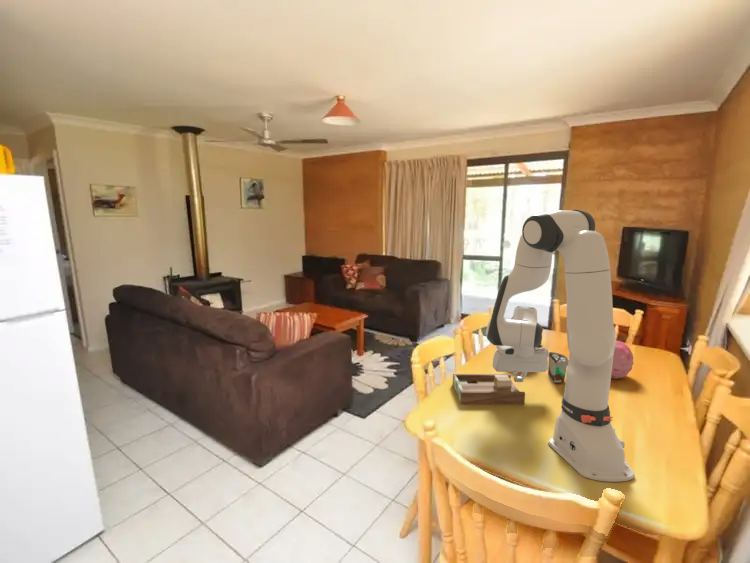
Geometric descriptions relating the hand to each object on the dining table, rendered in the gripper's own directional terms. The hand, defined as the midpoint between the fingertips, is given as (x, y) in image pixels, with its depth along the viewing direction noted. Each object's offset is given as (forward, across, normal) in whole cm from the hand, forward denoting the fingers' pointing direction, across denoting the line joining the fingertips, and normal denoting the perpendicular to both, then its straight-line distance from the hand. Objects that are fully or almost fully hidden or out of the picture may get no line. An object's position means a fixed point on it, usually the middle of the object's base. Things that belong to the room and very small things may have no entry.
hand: (518, 381), depth 139 cm
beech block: (+3, +6, 0) cm, 7 cm away
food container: (+5, -22, -12) cm, 26 cm away
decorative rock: (+4, -48, -16) cm, 50 cm away
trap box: (+5, +12, 0) cm, 13 cm away
